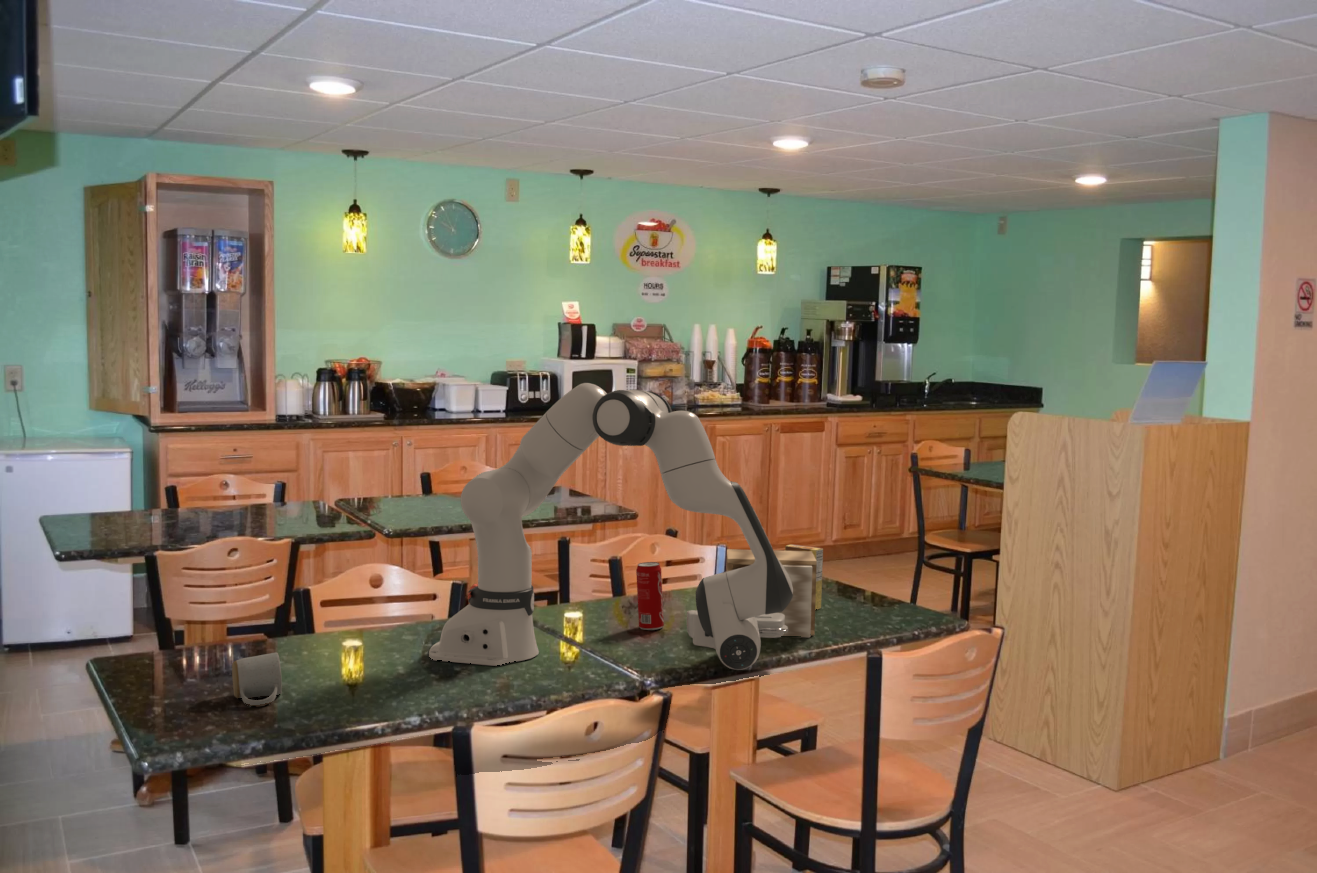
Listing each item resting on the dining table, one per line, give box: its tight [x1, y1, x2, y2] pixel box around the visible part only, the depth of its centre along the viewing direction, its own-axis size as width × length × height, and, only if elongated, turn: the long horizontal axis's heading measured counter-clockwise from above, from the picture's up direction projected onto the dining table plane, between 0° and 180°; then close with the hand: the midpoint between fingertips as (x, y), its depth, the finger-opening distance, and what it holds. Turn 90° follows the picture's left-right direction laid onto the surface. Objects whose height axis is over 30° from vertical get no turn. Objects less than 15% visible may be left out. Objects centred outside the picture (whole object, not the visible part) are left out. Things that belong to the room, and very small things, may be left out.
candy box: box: [784, 543, 824, 611], centre depth 280 cm, size 9×4×15 cm, turn 55°
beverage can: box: [635, 561, 665, 631], centre depth 256 cm, size 6×6×15 cm
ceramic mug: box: [231, 652, 283, 705], centre depth 201 cm, size 11×8×8 cm
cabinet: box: [725, 548, 817, 638], centre depth 254 cm, size 22×22×17 cm
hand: (734, 614), depth 236 cm, fingers open, 4 cm apart
